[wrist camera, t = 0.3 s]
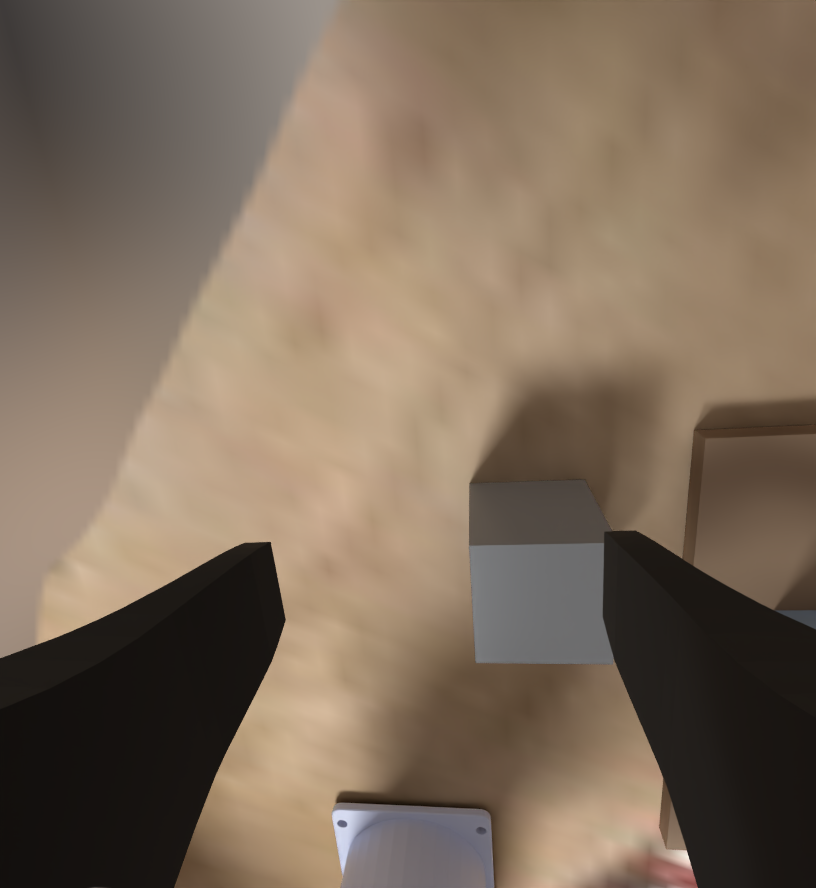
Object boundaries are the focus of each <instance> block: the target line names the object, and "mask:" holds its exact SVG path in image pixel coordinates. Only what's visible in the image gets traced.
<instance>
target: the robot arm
mask: <svg viewBox="0 0 816 888" xmlns="http://www.w3.org/2000/svg"><path fill="white" fill-rule="evenodd" d="M285 620H286V619H285V614H284V609H283V604H282V598H281V593H280V588H279V583H278V578H277V573H276V567H275V562H274V557H273V552H272V547H271V542H257V543H243V544H241V545H238V546H236V547H234V548H232V549H230V550H228V551H226V552H224V553H222V554H220V555H218V556H217V557H215V558H213V559H211V560H209V561H208V562H206V563H204V564H202V565H201V566H199V567H197V568H195V569H194V570H192V571H190V572H188V573H187V574H185V575H183V576H181V577H180V578H178V579H176V580H174V581H172V582H171V583H169V584H167V585H165V586H163V587H161V588H160V589H158V590H156V591H154V592H152V593H150V594H148V595H146V596H144V597H143V598H141V599H139V600H137V601H135V602H133V603H131V604H129V605H127V606H126V607H124V608H122V609H120V610H118V611H115V612H113V613H111V614H109V615H107V616H105V617H103V618H101V619H99V620H96V621H94V622H92V623H90V624H87V625H85V626H83V627H80V628H78V629H76V630H74V631H71V632H69V633H66V634H64V635H62V636H59V637H57V638H54V639H51V640H49V641H46V642H43V643H41V644H38V645H35V646H32V647H30V648H27V649H24V650H22V651H19V652H16V653H14V654H11V655H8V656H6V657H3V658H0V888H174V886H175V883H176V880H177V877H178V875H179V872H180V869H181V866H182V863H183V861H184V858H185V855H186V852H187V849H188V847H189V844H190V841H191V838H192V835H193V833H194V830H195V827H196V824H197V822H198V819H199V817H200V814H201V812H202V809H203V806H204V804H205V801H206V799H207V796H208V793H209V791H210V788H211V786H212V783H213V781H214V778H215V776H216V773H217V771H218V769H219V767H220V765H221V762H222V760H223V758H224V756H225V754H226V752H227V750H228V748H229V746H230V744H231V742H232V740H233V738H234V736H235V734H236V732H237V730H238V728H239V726H240V724H241V722H242V720H243V718H244V716H245V714H246V712H247V710H248V708H249V706H250V704H251V702H252V700H253V698H254V696H255V694H256V692H257V690H258V688H259V686H260V684H261V682H262V680H263V678H264V676H265V674H266V672H267V670H268V668H269V666H270V664H271V662H272V659H273V657H274V654H275V651H276V648H277V645H278V642H279V639H280V636H281V633H282V630H283V627H284V623H285ZM603 620H604V624H605V628H606V632H607V635H608V639H609V643H610V646H611V650H612V653H613V657H614V660H615V663H616V665H617V668H618V670H619V673H620V675H621V677H622V680H623V682H624V685H625V687H626V689H627V692H628V694H629V697H630V699H631V701H632V704H633V706H634V708H635V711H636V713H637V715H638V718H639V720H640V722H641V725H642V727H643V729H644V732H645V734H646V737H647V739H648V741H649V744H650V746H651V748H652V751H653V753H654V755H655V758H656V760H657V762H658V765H659V768H660V770H661V773H662V776H663V778H664V781H665V784H666V786H667V789H668V792H669V795H670V798H671V801H672V804H673V808H674V811H675V814H676V817H677V820H678V824H679V827H680V830H681V833H682V836H683V839H684V843H685V846H686V849H687V852H688V856H689V859H690V862H691V866H692V869H693V872H694V876H695V879H696V883H697V886H698V888H816V629H814V628H812V627H810V626H807V625H805V624H803V623H801V622H799V621H796V620H794V619H792V618H790V617H787V616H785V615H783V614H781V613H779V612H777V611H774V610H772V609H770V608H768V607H766V606H764V605H762V604H760V603H758V602H756V601H755V600H753V599H751V598H749V597H747V596H745V595H743V594H742V593H740V592H738V591H736V590H734V589H732V588H730V587H728V586H727V585H725V584H723V583H721V582H720V581H718V580H716V579H714V578H713V577H711V576H709V575H708V574H706V573H704V572H703V571H701V570H699V569H698V568H696V567H694V566H693V565H691V564H690V563H688V562H686V561H685V560H683V559H682V558H680V557H678V556H677V555H675V554H674V553H672V552H670V551H669V550H667V549H666V548H664V547H663V546H661V545H659V544H658V543H656V542H655V541H653V540H651V539H650V538H648V537H646V536H645V535H643V534H641V533H639V532H637V531H607V532H604V570H603ZM332 819H333V825H334V831H335V836H336V842H337V848H338V853H339V859H340V864H341V870H342V876H343V878H342V883H341V887H340V888H494V872H493V851H492V831H491V816H490V814H489V813H488V812H487V811H485V810H483V809H471V808H449V807H427V806H406V805H384V804H362V803H337V804H335V805H334V807H333V811H332Z"/></svg>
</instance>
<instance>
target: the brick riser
mask: <svg viewBox="0 0 816 888" xmlns="http://www.w3.org/2000/svg"><path fill="white" fill-rule="evenodd" d="M683 560H685V561H686V562H688V563H690V564H691V565H693V566H694V567H696V568H698V569H699V570H701V571H703V572H704V573H706V574H708V575H709V576H711V577H713V578H714V579H716V580H718V581H720V582H721V583H723V584H725V585H727V586H728V587H730V588H732V589H734V590H736V591H738V592H740V593H742V594H743V595H745V596H747V597H749V598H751V599H753V600H755V601H756V602H758V603H760V604H762V605H764V606H766V607H768V608H770V609H772V610H774V611H777V612H779V613H781V614H783V615H785V616H787V617H790V618H792V619H794V620H796V621H799V622H801V623H803V624H805V625H807V626H810V627H812V628H814V629H816V425H798V426H776V427H754V428H732V429H710V430H694V437H693V449H692V460H691V471H690V483H689V494H688V506H687V517H686V528H685V540H684V551H683ZM659 828H660V831H661V834H662V837H663V840H664V843H665V846H666V849H672V850H687V849H686V846H685V843H684V839H683V836H682V833H681V830H680V827H679V824H678V820H677V817H676V814H675V811H674V808H673V804H672V801H671V798H670V795H669V792H668V789H667V786H666V784H665V781H664V779H663V791H662V802H661V813H660V825H659Z"/></svg>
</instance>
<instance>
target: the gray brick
mask: <svg viewBox="0 0 816 888" xmlns="http://www.w3.org/2000/svg"><path fill="white" fill-rule="evenodd" d="M607 531H612V530H611V528H610V526H609V524H608V522H607V520H606V518H605V517H604V515H603V513H602V511H601V509H600V507H599V505H598V503H597V502H596V500H595V498H594V496H593V494H592V492H591V490H590V488H589V487H588V485H587V483H586V481H585V479H580V480H551V481H522V482H493V483H470V485H469V552H470V570H471V588H472V607H473V625H474V644H475V662H476V663H527V664H613V653H612V650H611V646H610V643H609V639H608V635H607V632H606V628H605V624H604V620H603V570H604V532H607Z"/></svg>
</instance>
